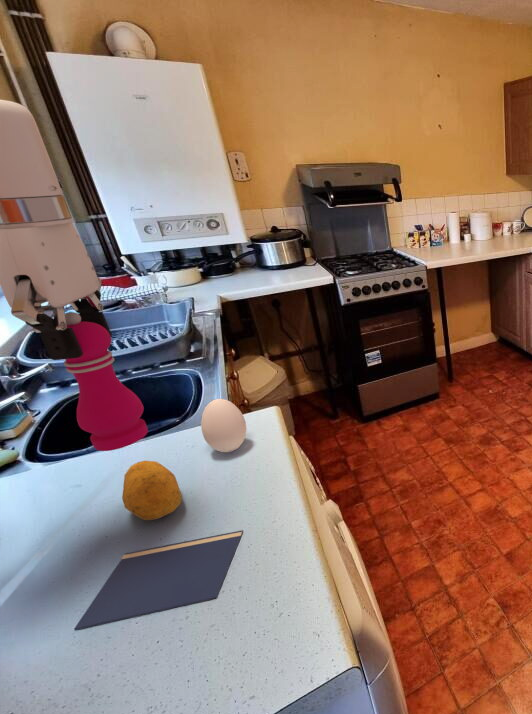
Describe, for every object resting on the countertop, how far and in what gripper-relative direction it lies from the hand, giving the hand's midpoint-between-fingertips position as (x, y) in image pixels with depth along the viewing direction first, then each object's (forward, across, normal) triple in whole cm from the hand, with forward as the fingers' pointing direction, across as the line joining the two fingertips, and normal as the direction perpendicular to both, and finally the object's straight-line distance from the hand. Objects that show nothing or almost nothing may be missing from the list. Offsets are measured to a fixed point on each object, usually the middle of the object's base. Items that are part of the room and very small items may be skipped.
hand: (83, 347), depth 60 cm
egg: (+32, -19, +6) cm, 38 cm away
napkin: (+32, +12, +6) cm, 34 cm away
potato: (+32, -4, -2) cm, 32 cm away
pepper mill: (+15, 0, 0) cm, 15 cm away
